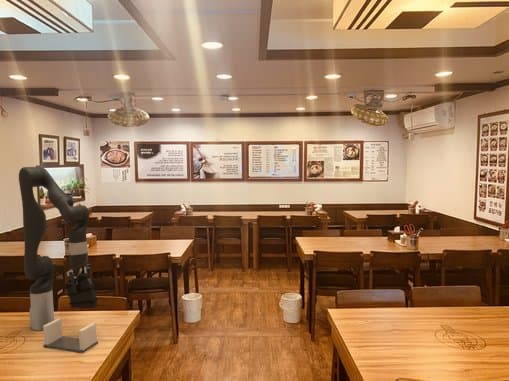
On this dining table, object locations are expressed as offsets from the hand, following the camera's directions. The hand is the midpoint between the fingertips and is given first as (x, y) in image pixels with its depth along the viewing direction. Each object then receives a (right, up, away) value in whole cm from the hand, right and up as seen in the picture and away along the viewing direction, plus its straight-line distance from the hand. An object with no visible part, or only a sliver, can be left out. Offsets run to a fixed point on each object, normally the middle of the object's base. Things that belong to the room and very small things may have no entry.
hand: (80, 290), depth 170 cm
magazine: (0, -7, +1) cm, 8 cm away
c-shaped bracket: (-2, -22, -5) cm, 22 cm away
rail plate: (-2, -22, -5) cm, 22 cm away
